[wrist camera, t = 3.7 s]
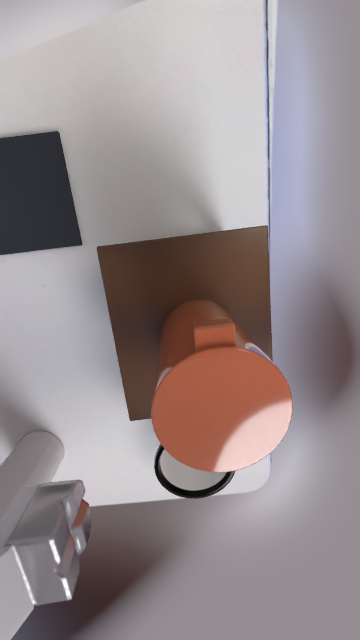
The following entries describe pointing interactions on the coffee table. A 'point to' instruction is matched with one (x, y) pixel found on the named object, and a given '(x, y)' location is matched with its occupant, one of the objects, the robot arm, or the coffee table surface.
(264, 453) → the orange two-handled pot
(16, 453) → the bottle
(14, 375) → the coffee table surface
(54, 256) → the coffee table surface
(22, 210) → the mat
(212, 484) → the mug
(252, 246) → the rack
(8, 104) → the coffee table surface
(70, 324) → the coffee table surface
